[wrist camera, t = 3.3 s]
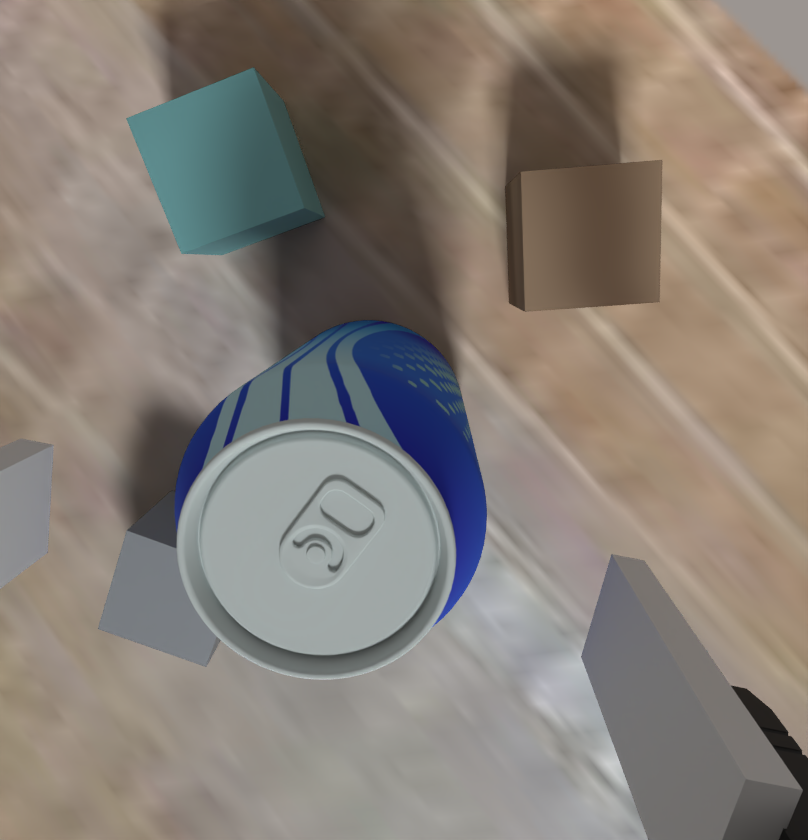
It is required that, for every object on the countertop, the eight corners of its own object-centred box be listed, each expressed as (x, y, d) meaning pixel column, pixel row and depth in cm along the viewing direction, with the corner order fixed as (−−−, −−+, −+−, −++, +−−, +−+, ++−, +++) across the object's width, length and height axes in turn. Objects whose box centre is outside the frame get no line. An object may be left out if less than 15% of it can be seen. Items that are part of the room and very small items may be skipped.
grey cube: (146, 575, 33) (98, 628, 28) (172, 489, 32) (126, 530, 27) (238, 608, 33) (205, 666, 29) (267, 524, 32) (239, 571, 27)
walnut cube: (509, 303, 29) (525, 311, 24) (505, 186, 28) (520, 171, 23) (621, 295, 29) (659, 302, 24) (621, 177, 28) (662, 160, 23)
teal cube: (222, 255, 29) (181, 253, 24) (178, 143, 28) (126, 118, 23) (325, 217, 29) (304, 207, 24) (284, 101, 28) (253, 67, 23)
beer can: (479, 470, 31) (529, 677, 16) (312, 507, 32) (201, 741, 16) (438, 297, 29) (449, 338, 14) (262, 342, 30) (84, 428, 14)
